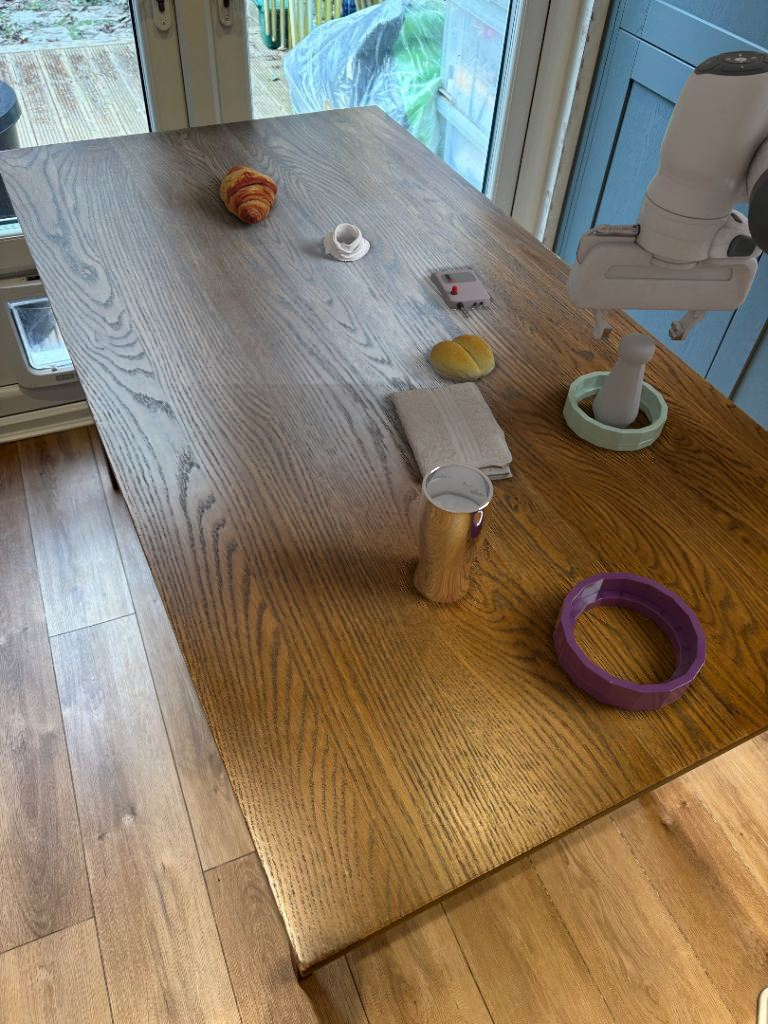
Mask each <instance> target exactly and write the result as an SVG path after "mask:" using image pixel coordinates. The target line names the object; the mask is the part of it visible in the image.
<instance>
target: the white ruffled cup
mask: <svg viewBox="0 0 768 1024" xmlns="http://www.w3.org/2000/svg"><path fill="white" fill-rule="evenodd" d="M322 243H323V246H324V253H325V254H326V255H331V256H332V257H333V258H335V259H336V260H338V261H340V262H344V261H345V263H347V262H346V261H352V262H356V261H358V260H360V259H362V258H363V257H364V256H366V254H367V253H368V252H369V250H370V247H371V245H370V242H369V241H368V240H367V239H366V238H365V237H363V235H362V232H361V230H360V229H359V228H358V227H357V226H356V225H354V224H350V223H347V222H346V223H345V222H344V223H340V224H337V225H336V226H335V227H334V229H333V230H332V231H330V232H328V233H326V234H325V236H324V237H323V241H322Z"/></svg>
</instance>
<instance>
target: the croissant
mask: <svg viewBox="0 0 768 1024" xmlns="http://www.w3.org/2000/svg"><path fill="white" fill-rule="evenodd" d="M277 193H278V186H277V184H276V183H275V181H274V180H273V179H272V178H271V177H270V176H269V175H267V174H265V173H262V172H259V171H257V170H256V169H255V168H252V167H249V166H245V165H237V166H231V167H230V168H229V169H228V171H227V172H226V173H225V176H224V177H223V178H222V180H221V184H220V187H219V197H220V199H221V200H222V201H223V203H224V206H225V207H226V209H227V211H229V212H230V213H231V214H234V216H236V217H237V218H239V220H241V221H242V222H244V223H245V224H249V225H254V224H257V223H259V222H261V221H263V220H266V218H267V217H268V215H269V213H270V211H272V209H273V206H274V202H275V198H276V196H277Z"/></svg>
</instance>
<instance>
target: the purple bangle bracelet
mask: <svg viewBox="0 0 768 1024" xmlns="http://www.w3.org/2000/svg"><path fill="white" fill-rule="evenodd" d="M611 606H613V607H615V606H617V607H618V606H619V607H622V608H626V609H629V610H632V611H636V612H638V613H640V614H641V615H643V616H645V617H647V618H648V619H649V620H651V621H653V622H655V624H656V625H658V627H659V628H660V630H662V632H663V633H664V634H665V635H666V636H667V637H668V639H669V641H670V644H671V646H672V649H673V651H674V654H675V663H674V672H673V673H672V675H671V676H670V678H669V679H666V680H665V681H662V682H661V683H651V684H649V683H648V684H639V683H635V682H632V681H629V680H625V679H622V678H619V677H616V676H613V675H612V674H610V673H608V672H607V671H606V670H604V669H603V668H601V667H600V666H598V665H597V664H596V663H594V662H593V661H591V660H590V659H589V657H588V656H587V655H586V653H585V652H584V651H583V650H582V648H581V647H580V646H579V644H578V643H577V642H576V639H575V634H574V631H575V626H576V622H577V621H578V620H579V619H580V617H581V616H582V615H583V614H584V613H586V612H589V611H591V610H593V609H596V608H598V607H611ZM554 625H555V627H554V630H553V636H552V641H553V645H554V648H555V652H556V655H557V660H558V662H559V665H561V667H562V669H563V670H564V671H565V673H566V674H567V675H568V677H569V678H570V680H572V681H573V683H574V684H575V685H576V686H577V687H579V688H580V690H582V691H584V692H585V693H587V694H589V695H590V696H591V697H592V698H594V699H596V700H597V701H598V702H600V703H603V704H605V705H609V706H612V707H616V708H618V709H622V710H625V711H629V712H640V711H643V712H644V711H658V710H661V709H663V708H665V707H667V706H669V705H671V704H673V703H675V702H677V701H679V700H680V699H682V697H683V695H684V694H685V692H686V691H687V690H688V688H689V687H690V685H691V684H692V683H693V682H694V680H695V678H696V676H697V675H698V674H699V672H700V670H701V668H702V667H703V666H704V664H705V663H706V651H707V650H706V649H707V637H706V634H705V632H704V630H703V627H702V625H701V623H700V620H699V618H698V616H697V614H696V613H695V612H694V611H693V610H692V609H691V607H690V606H689V605H688V604H687V603H686V602H685V601H684V599H682V597H680V596H679V595H678V594H677V593H676V592H674V591H672V590H671V589H669V588H667V587H666V586H664V585H663V584H661V583H659V582H657V581H655V580H654V579H652V578H649V577H643V576H641V575H637V574H633V573H630V572H626V571H622V572H621V571H619V572H599V573H597V574H595V575H592V576H589V577H587V578H585V579H581V580H580V581H578V582H577V583H576V584H575V585H574V587H572V589H571V590H570V591H569V592H568V593H567V594H566V596H564V598H563V601H562V604H561V607H560V609H559V611H558V615H557V617H556V621H555V624H554Z"/></svg>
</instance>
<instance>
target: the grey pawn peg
mask: <svg viewBox="0 0 768 1024" xmlns="http://www.w3.org/2000/svg"><path fill="white" fill-rule="evenodd" d="M656 348H657V347H656V344H655V342H654V340H653V339H652V338H651V337H650V336H648V335H647V334H644V333H641V332H629V333H626V334H625V335H623V336H622V337H621V338H620V341H619V343H618V345H617V349H616V352H617V354H618V357H617V359H616V361H615V363H614V365H613V366H612V368H611V370H610V371H611V372H610V373H609V375H608V377H607V379H606V380H605V382H604V384H603V386H602V387H601V389H600V391H599V393H598V394H597V395H595V398H594V400H593V402H592V406H591V408H592V412H593V417H594V418H593V419H594V420H596V421H598V422H600V423H602V424H604V425H606V426H611V427H615V428H619V429H626V428H627V426H629V425H631V424H632V423H634V422H635V420H636V418H637V417H638V414H639V409H640V408H639V403H640V397H641V390H642V384H643V381H644V377H645V369H646V364H647V363H649V362H650V361H651V360H653V357H654V354H655V352H656Z"/></svg>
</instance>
